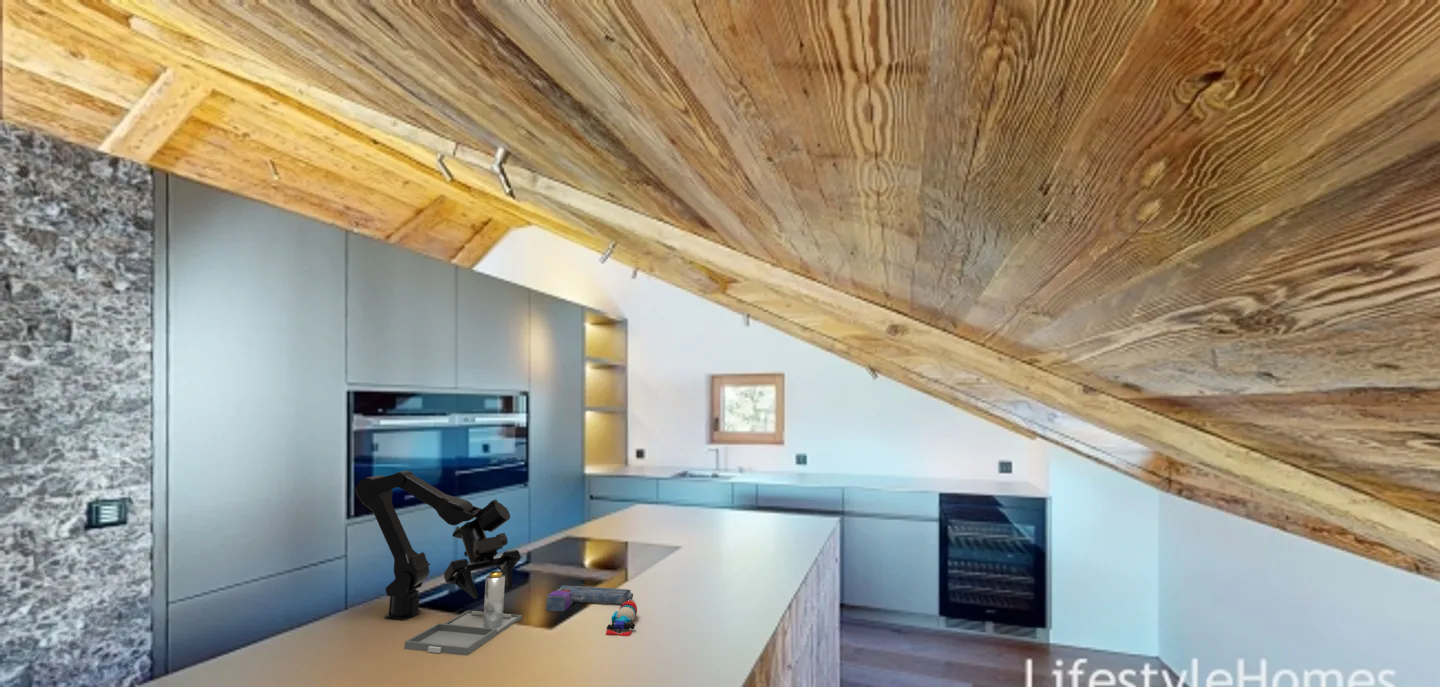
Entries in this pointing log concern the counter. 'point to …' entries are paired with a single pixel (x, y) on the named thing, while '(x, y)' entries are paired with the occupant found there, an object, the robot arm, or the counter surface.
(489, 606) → the grey cylinder
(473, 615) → the lid
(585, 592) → the toy gun
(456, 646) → the case
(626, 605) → the toy figure
